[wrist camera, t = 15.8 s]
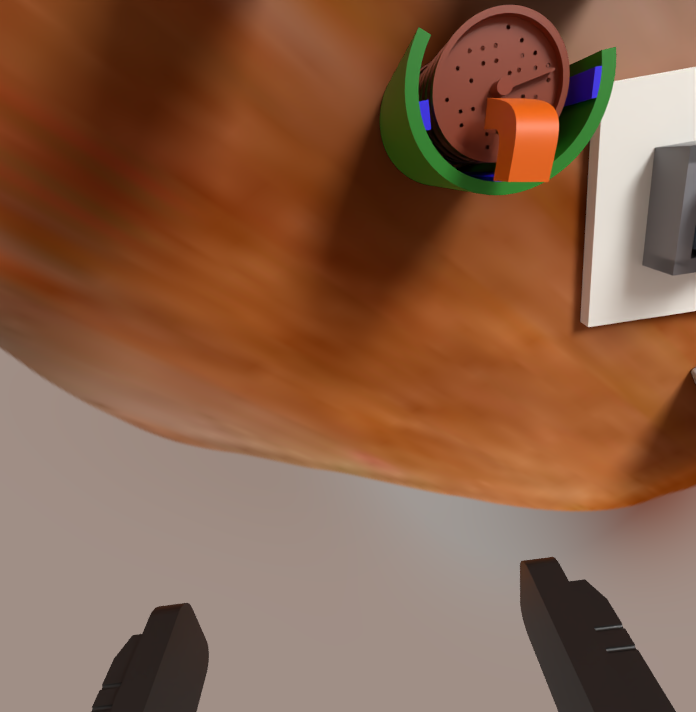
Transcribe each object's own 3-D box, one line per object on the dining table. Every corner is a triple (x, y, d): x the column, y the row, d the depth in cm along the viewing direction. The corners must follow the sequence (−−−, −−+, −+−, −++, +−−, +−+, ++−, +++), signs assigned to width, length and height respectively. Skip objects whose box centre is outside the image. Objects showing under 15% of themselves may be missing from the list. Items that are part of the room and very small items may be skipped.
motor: (503, 50, 34) (692, -80, 16) (506, 173, 38) (664, 184, 19) (373, 76, 35) (409, -20, 16) (388, 195, 38) (433, 226, 20)
